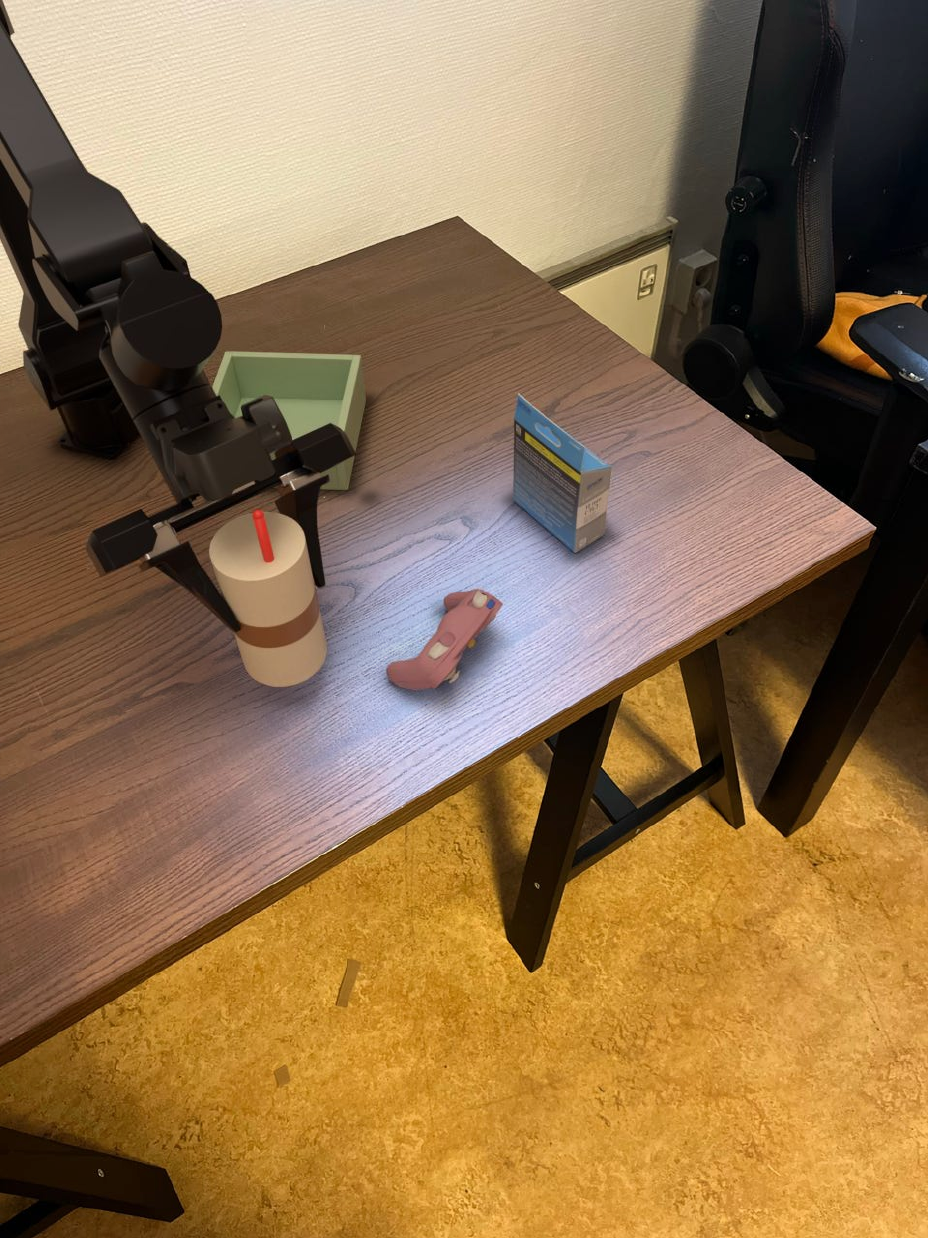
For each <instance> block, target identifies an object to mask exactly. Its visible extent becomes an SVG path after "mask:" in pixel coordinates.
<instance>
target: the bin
mask: <svg viewBox="0 0 928 1238" xmlns="http://www.w3.org/2000/svg"><path fill="white" fill-rule="evenodd" d="M214 378H215V379H214V382H213V383H212V385H211V386H212V388H213V390H214V392H215V394H216V396H218V395H220V397H221V399H222V401H223V402H224V403H225V404H226V406H227V408H228V410H229V412H230V413H231V414H232V415H233V416H234V417H235V418H237V417H240V416H242V412H241V406H242V405H243V404H245V403H247V402H249V401H252V400H254V399H256V398H259V397H261V396H263V395H268V396H272V397H273V398H274V400H275V402H276V404H277V405H278V407H279V409H280V411H281V413H282V415H283V416H284V418H285V420H286V423H287V425H288V428H289V430H290V433H291V436H292V440H294V439H296V438H298V437H300V436H303V435H305V434H307V433H309V432H311V431H314V430H316V429H318V428H320V427H322V426H325V425H327V424H329V423H332V424H334V425H336V426H338V427H340V428H341V429H342V430H343V431H344V432H345V433H346V435H347V437H348V439H349V441H350V443H351V445H352V447H353V449H354V451H355V453H357V452H356V451H357V448H358V447H357V446H358V441H359V437H360V432H361V427H362V422H363V417H364V413H365V408H366V403H367V397H366V396H367V395H366V386H365V378H364V369H363V359H362V354H344V353H343V354H340V353H339V354H338V353H307V352H306V353H301V352H270V351H269V352H268V351H267V352H264V351H263V352H262V351H225V352H224V354H223V357H222V360H221V363H220V364H219V367H218V370H217V373H216V376H215V377H214ZM276 451H277V450H276ZM276 451H274V452H276ZM274 452H272V453H270V457H271V460H274V459H276V457H275V453H274ZM355 456H356V455H355ZM355 456H353V457H351V458H349V459H347V460H345V461H344V462H342V463H340V464H338V465H336V466H334V467H332V468H330V469H328V470H326V471H324V472H322V473H320V474H321V476H322V477H324V476H326V475H329V479H330V482H328V483H326V484H324V485H322V486H321V488H320V490H327V491H329V490H330V491H332V490H334V491H348V490H349V488H350V487H349V486H350V482H351V477H352V471H353V466H354V462H355ZM273 489H277V487H274V488H273Z"/></svg>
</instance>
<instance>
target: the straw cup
mask: <svg viewBox="0 0 928 1238" xmlns="http://www.w3.org/2000/svg"><path fill="white" fill-rule="evenodd" d="M208 555H209V560H210V562H211V567H212V568H213V572H214V575H215V578H216V582H217V585H218V587H219V588H218V589H219V592H220V594H221V596H222V597H223V599H224V600H225V602H226V603H227V604H228V606H229V607H230V609H231V611H232V612H233V614H234V616H235V618H236V620H237V622H238V624H239V626H240V629H241V630H240V631H238V632H236V633H235V632H233V635H234V638H235V641H236V645H237V647H238V650H239V653H240V656H241V659H242V662H243V666H244V669H245V670H246V672H247V674H248V675H249V676H250V677H251V678H252V679H254V680H255V681H257V682H258V683H260V684H262V685H265V686H268V687H274V688H286V687H292V686H295V685H299V684H301V683H303V682H305V681H307V680H309V679H310V678H312V677H313V676H314V675H316V673H318V672H319V671H320V669H321V668H322V666H323V665H324V663H325V661H326V657H327V654H328V646H327V639H326V634H325V629H324V625H323V620H322V614H321V610H320V601H319V597H318V596H319V595H318V592H317V587H316V585H315V582H314V579H313V574H312V569H311V564H310V559H309V554H308V549H307V544H306V539H305V535H304V532H303V530H302V528H301V527H300V526H299V524H298V523H297V522H296V521H294V520H293V519H291V518H290V517H288V516H285V515H283V514H280V513H279V512H274V511H263V510H261V509H255V510H254V511H252V512H248V513H245V514H242V515H238V516H236V517H235V518H233V519H231V520H229V521H227V522H225V524H223V525H222V526H221V527H220V528H219V529H218V530H217V531H216V532H215V534H214V535H213V537H212V538H211V541H210V544H209V548H208Z"/></svg>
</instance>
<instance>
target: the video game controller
mask: <svg viewBox="0 0 928 1238" xmlns="http://www.w3.org/2000/svg"><path fill="white" fill-rule="evenodd" d="M503 605H504V602H501V600H499V598H497V597H496V596H495V595H493V594H491V593H490V592H488V591H485V590H483V589H479V588H474V589H471V590H467V591H466V590H465V591H454V592H450V593H449V594H447V595H446V596H445V597H444V598H443V606H444V608H445V610H446V613H445V615H444V616H443V617H442V618H441V620H440V622H439V624H438V626H437V629H436V632H435V633H434V634H433V635H432V637H431V638H430V639H429V641H427V643H426V644H425V646H424V647H423V649H422V650H421V651H420V653H419V654H418V655H417V656H415V657H413V658H409V659H404V660H397V661H392V662H391V663H389V664H388V665H387V666H386V676H387V677H388V679H389V681H390V682H391V683H393V684H394V685H396V686H397V687H400V688H403V689H407V690H413V691H414V690H415V691H416V690H417V691H419V690H426V689H427V690H428V689H430V688H432V689H434V690H435V689H436V688H437V687H438V686H439V685H440V684H441V683H443V682H445V681H447V680H449V681H448V684H452V683H454V682H455V681H456V680H457V679H458V678H459V676H460V672H461V671H460V670H457V667H458V664H459V661H460V660H461V658H462V657H463V653H462V652H464V651H465V649H467V647H468V649H470V648H473V647H474V646H475V644H476V639H475V638H476V637H478V636H479V634H480V633H481V632H482V631H483V630H484V629H486V628H488V627H489V626H490V625H491V623H492V622H493V621H494V620H495V618H496V616H497V614H498V613H499V611H500V610H501V608H502V607H503Z"/></svg>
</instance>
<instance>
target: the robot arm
mask: <svg viewBox="0 0 928 1238" xmlns="http://www.w3.org/2000/svg"><path fill="white" fill-rule="evenodd" d="M14 34H15V29H14V26H13V23H12V21H11V19H10V15H9V14H8V10H7V8H6V6H5V2H4V0H0V242H1V245H2V247H3V249H4V251H5V252H4V253H5V254H6V256H7V258H8V260H9V263H10V265H11V267H12V269H13V272H14V274H15V276H16V279H17V281H18V283H19V285H20V287H21V290H22V293H23V295H22V299H21V306H20V311H19V317H18V329H19V331H20V333H21V335H22V338H23V340H24V342H25V345H26V347H27V349H26V350H23V351H22V359H23V360H22V361H23V363H22V364H23V368H24V370H25V372H26V375H27V377H28V379H29V380H30V383H31V385H32V386H33V388H34V390H35V391H36V392H37V394H38V395H39V396H40V398H41V399H42V401H43V402H44V404H45V405H46V406H47V408H48V409H49V410H50V411H54V410H57V411H58V414H59V416H60V419H61V421H62V423H63V425H64V428H65V430H66V431H65V433H64V434H63V435H62V436H61V437H60V438H59V439H58V440H57V443H58V445H59V447H61V448H64V449H68V450H72V451H76V452H79V453H84V454H86V455H87V454H88V455H92V456H96V457H98V458H99V457H100V458H104V459H108V460H114V459H116V458H118V456H120V455H121V453H122V452H123V451H124V450H125V448H126V447H128V445H129V444H130V443H131V442H132V441H133V440H134V439H135V437H136V436H137V435H138V434H139V435H140V437H141V438H142V441H143V443H144V445H145V447H146V448H147V450H148V452H149V453H150V455H151V458H152V459H153V462H154V463H155V465H156V466H157V469H158V470H159V473H160V474H161V476H162V478H163V480H164V482H165V483H166V486H167V487H168V489H169V491H170V493H171V495H172V497H173V499H174V501H175V503H176V504H174V505H172V506H170V507H167V508H165V509H163V510H161V511H159V512H156V513H154V514H152V515H150V516H148V515H147V514H146V513H145V511H144V510H143V508H139V509H137V510H135V511H133V512H131V513H129V514H126V515H124V516H122V517H119V518H118V519H115V520H112V521H111V522H109V523H106V524H104V525H102V526H100V527H97V528H96V529H93V530H92V531H90V534H89V536H88V538H87V541H86V544H85V547H84V549H85V551H86V553H87V555H88V557H89V559H90V561H91V562H92V565H93V566H94V567H95V570H96V571H97V573H98V576H99V577H100V578H103V577H105V576H107V575H109V574H111V573H113V572H115V571H118V570H119V569H121V568H124V567H126V566H128V565H130V564H133V563H134V562H136V561H140V563H141V564H139V565H138V567H139V570H140V572H142V573H144V572H146V571H148V570H150V569H152V568H156V569H157V570H159V571H160V572H161V573H163V574H164V575H166V576H167V577H168V578H170V579H171V580H173V581H174V582H175V583H177V584H178V585H179V586H181V587H182V588H184V589H185V590H186V591H187V592H189V593H190V594H191V595H192V596H193V597H194V598H196V599H197V601H199V602H200V603H201V604H202V605H203V606H204V607H205V608H206V609H208V610H209V612H211V613H212V614H213V615H214V616H215V617H216V618H217V619H218V620H219V621H221V622H222V623H223V624H224V625H225V626H226V627H227V628H228V629H229V630H230V631H231V632H232V633H234V632H235V633H236V632H238V631H240V630H241V629H240V626H239V624H238V622H237V620H236V618H235V616H234V614H233V612H232V611H231V609H230V607H229V606H228V604H227V603H226V602H225V600H224V599H223V597H222V594H221V592H220V590H218V587H217V586H216V585H215V583H214V582H213V581H212V580H211V578H210V576H209V575H208V573H207V572H206V570H205V569H204V568H203V566H202V565H201V563H200V561H199V559H198V557H197V555H196V553H195V551H194V549H193V547H192V546H191V545H192V544H191V543H190V541H189V540H188V541H186V542H183V543H181V542H180V540H179V535H178V533H180V532H183V531H184V530H186V529H188V528H191V527H193V526H195V525H197V524H200V523H201V522H203V521H206V520H208V519H209V518H212V517H215V516H216V515H218V514H220V513H223V512H224V511H227V510H229V509H231V508H234V507H235V506H238V505H239V504H242V503H243V502H246V501H248V500H250V499H252V498H254V497H256V496H259V495H261V494H263V493H265V492H267V491H269V490H272V489H275V488H274V487H277V488H276V489H277V492H278V493H279V495H280V497H279V498H278V499H275V500H274V501H273V502H274V504H275V506H276V509H277V511H278V513H279V514H283V515H285V516H288V517H290V518H291V519H293V520H294V521H296V522H297V523H298V524H299V526H300V527H301V528H302V530H303V532H304V535H305V539H306V544H307V549H308V554H309V559H310V564H311V569H312V574H313V579H314V582H315V586H316V589H322V588H324V587H326V577H325V570H324V565H323V564H324V563H323V557H322V551H321V543H320V536H319V535H320V534H319V528H318V527H319V525H318V502H319V497H320V492H321V489H320V488H321V486H322V485H324V484H326V483H328V482H330V479H329V475H326V476H324V477H322V476H321V474H320V473H322V472H324V471H326V470H328V469H330V468H332V467H334V466H336V465H338V464H340V463H342V462H344V461H345V460H347V459H349V458H351V457H353V456H356V455H357V452H355V451H354V449H353V447H352V445H351V443H350V441H349V439H348V437H347V435H346V433H345V432H344V431H343V430H342V429H341V428H340V427H338V426H336V425H334V424H332V423H329V424H327V425H325V426H322V427H320V428H318V429H316V430H314V431H311V432H309V433H307V434H305V435H303V436H300V437H298V438H296V439H294V440H292V436H291V433H290V430H289V428H288V425H287V423H286V420H285V418H284V416H283V415H282V413H281V411H280V409H279V407H278V405H277V404H276V402H275V400H274V398H273V397H272V396H268V395H263V396H261V397H259V398H256V399H254V400H252V401H249V402H247V403H245V404H243V405H242V406H241V412H242V416H240V417H237V418H235V417H234V416H233V415H232V414H231V413H230V412H229V410H228V408H227V406H226V404H225V403H224V402H223V401H222V399H221V397H220V395H218V396H216V394H215V392H214V390H213V388H212V386H213V385H212V384H211V382H210V380H209V378H208V376H207V375H206V372H205V370H204V368H205V366H206V365H207V363H208V362H209V360H210V359H211V357H212V355H213V354H214V352H215V351H216V349H217V347H218V345H219V342H220V340H221V338H222V331H223V319H222V312H221V310H220V307H219V304H218V302H217V300H216V298H215V297H214V294H212V292H210V291H209V290H208V289H206V287H205V286H204V285H203V284H202V283H200V282H199V281H198V280H196V279H195V278H193V277H192V276H191V271H190V268H189V265H188V260H187V259H185V258H184V257H183V256H182V255H181V254H180V253H179V252H178V251H177V250H176V249H174V248H173V247H172V246H171V245H170V244H169V243H168V242H166V241H165V240H164V239H163V238H162V237H160V236H159V235H158V233H156V232H155V230H154V229H153V228H152V227H151V225H149V224H148V223H147V222H145V221H143V222H141V220H140V219H139V217H138V216H137V214H136V213H135V211H134V209H133V207H132V206H131V204H130V203H129V202H128V200H127V199H126V197H125V196H124V194H123V193H122V191H121V190H120V189H119V188H117V187H115V186H114V185H111V183H109V182H107V181H104V180H103V179H101V178H99V177H98V176H96V175H94V174H92V173H91V172H89V170H88V169H87V168H86V166H85V165H84V163H83V162H82V160H81V159H80V156H79V155H78V153H77V152H76V150H75V148H74V146H73V145H72V143H71V142H70V139H69V137H68V136H67V134H66V132H65V131H64V129H63V128H62V125H61V124H60V122H59V120H58V118H57V117H56V115H55V113H54V111H53V109H52V107H51V106H50V104H49V102H48V100H47V99H46V97H45V96H44V94H43V93H42V90H41V88H40V87H39V86H38V84H37V81H36V80H35V78H34V77H33V74H32V72H31V71H30V70H29V68H28V66H27V63H26V62H25V61H24V59H23V57H22V56H21V54H20V52H19V50H18V48H17V47H16V45H15V44H14V42H13V39H12V35H14ZM276 450H277V451H276ZM274 451H276V452H274ZM272 452H274V453H275V457H276V459H274V460H271V457H270V453H272ZM199 497H202V498H203V500H205V501H204V502H202V503H200V504H197V505H195V506H194V504H193V502H195V501H197V500H198V498H199Z"/></svg>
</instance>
